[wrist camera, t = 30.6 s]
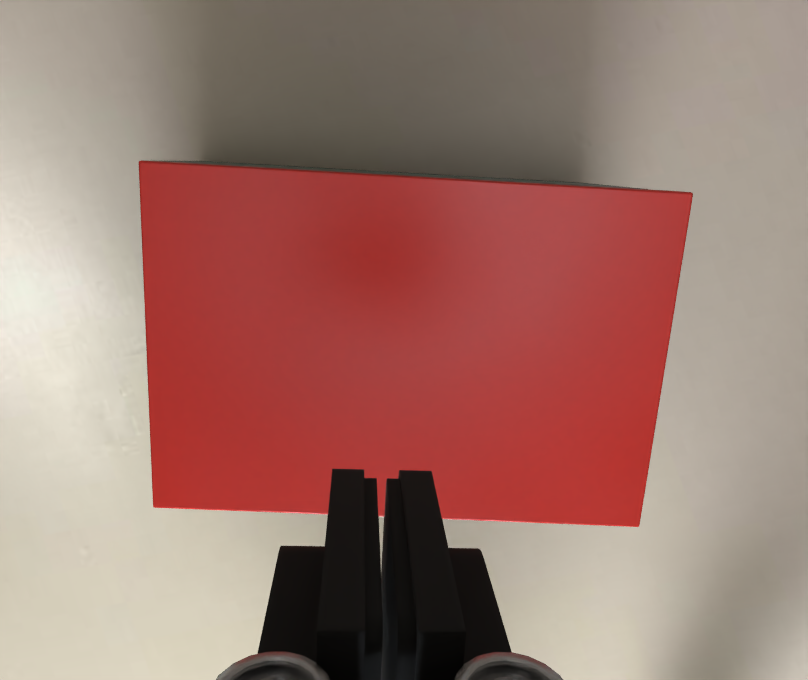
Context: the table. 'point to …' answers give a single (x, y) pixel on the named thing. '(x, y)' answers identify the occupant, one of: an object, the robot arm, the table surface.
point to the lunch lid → (405, 338)
